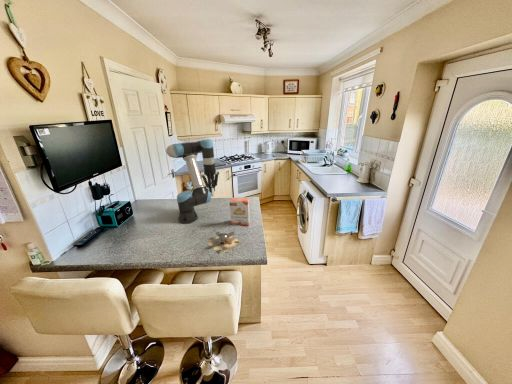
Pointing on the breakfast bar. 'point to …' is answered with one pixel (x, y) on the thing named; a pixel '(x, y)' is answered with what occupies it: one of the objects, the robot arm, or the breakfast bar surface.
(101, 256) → the breakfast bar surface
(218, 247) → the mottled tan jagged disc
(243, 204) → the cracker box
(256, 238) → the breakfast bar surface
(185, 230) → the breakfast bar surface
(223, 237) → the capstan
